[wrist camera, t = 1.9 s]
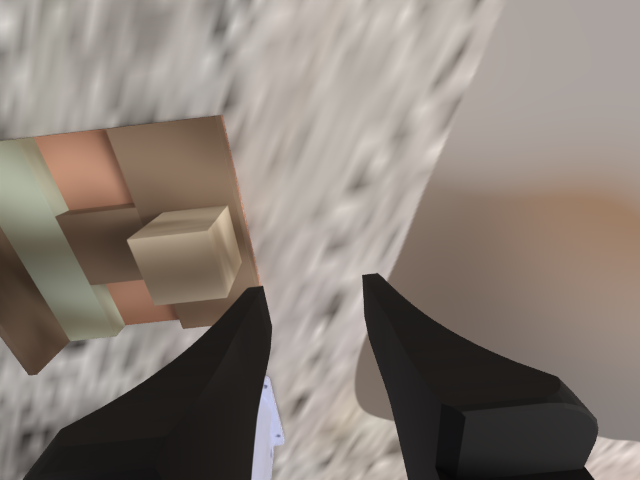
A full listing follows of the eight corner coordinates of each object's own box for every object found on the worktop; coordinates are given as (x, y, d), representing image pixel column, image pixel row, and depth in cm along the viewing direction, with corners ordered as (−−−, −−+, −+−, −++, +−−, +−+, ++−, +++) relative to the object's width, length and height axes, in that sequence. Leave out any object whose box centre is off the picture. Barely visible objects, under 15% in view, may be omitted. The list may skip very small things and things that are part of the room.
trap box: (265, 307, 23) (256, 350, 19) (77, 328, 23) (28, 375, 19) (222, 115, 17) (195, 118, 13) (-29, 144, 18) (-132, 156, 13)
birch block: (241, 262, 20) (226, 297, 16) (182, 268, 20) (154, 305, 16) (227, 205, 18) (207, 230, 14) (162, 212, 18) (126, 239, 15)
